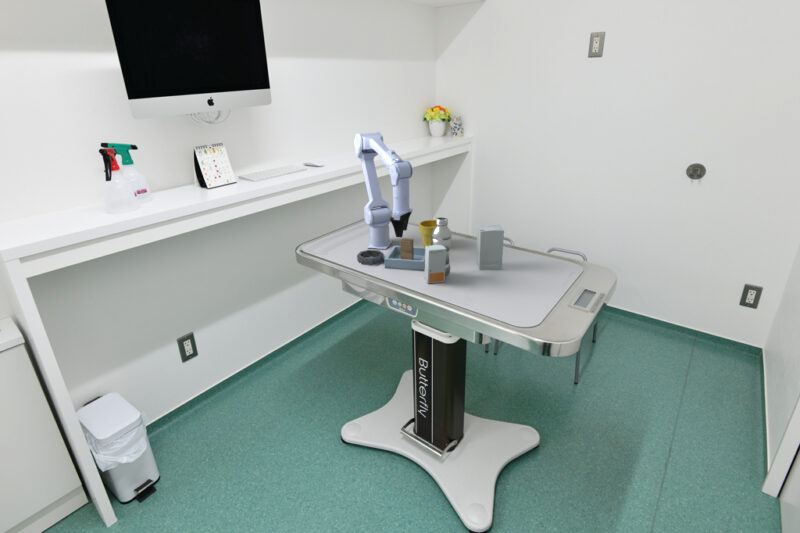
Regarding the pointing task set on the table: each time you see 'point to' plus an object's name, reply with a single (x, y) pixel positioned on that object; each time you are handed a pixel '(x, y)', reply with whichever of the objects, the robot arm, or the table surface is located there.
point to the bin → (396, 262)
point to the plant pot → (427, 231)
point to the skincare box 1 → (435, 263)
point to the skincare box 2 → (489, 247)
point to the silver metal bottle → (443, 238)
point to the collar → (376, 255)
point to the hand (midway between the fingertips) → (401, 233)
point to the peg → (407, 248)
